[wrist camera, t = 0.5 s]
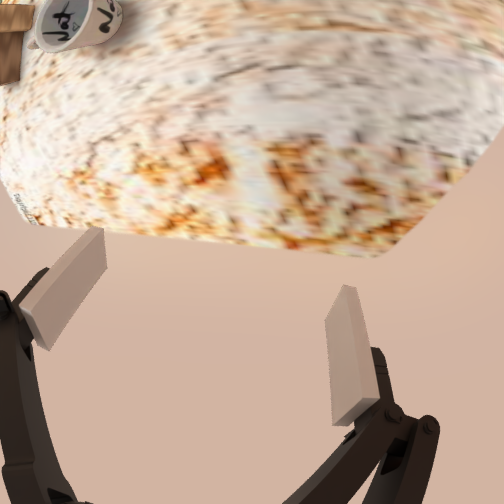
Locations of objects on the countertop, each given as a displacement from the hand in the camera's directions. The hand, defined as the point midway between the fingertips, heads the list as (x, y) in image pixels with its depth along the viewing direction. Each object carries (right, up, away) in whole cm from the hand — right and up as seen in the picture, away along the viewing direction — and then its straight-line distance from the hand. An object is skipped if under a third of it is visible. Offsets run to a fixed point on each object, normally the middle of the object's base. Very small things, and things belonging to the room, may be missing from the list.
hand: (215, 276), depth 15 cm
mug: (-22, +35, +13) cm, 43 cm away
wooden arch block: (-41, +43, +10) cm, 60 cm away
